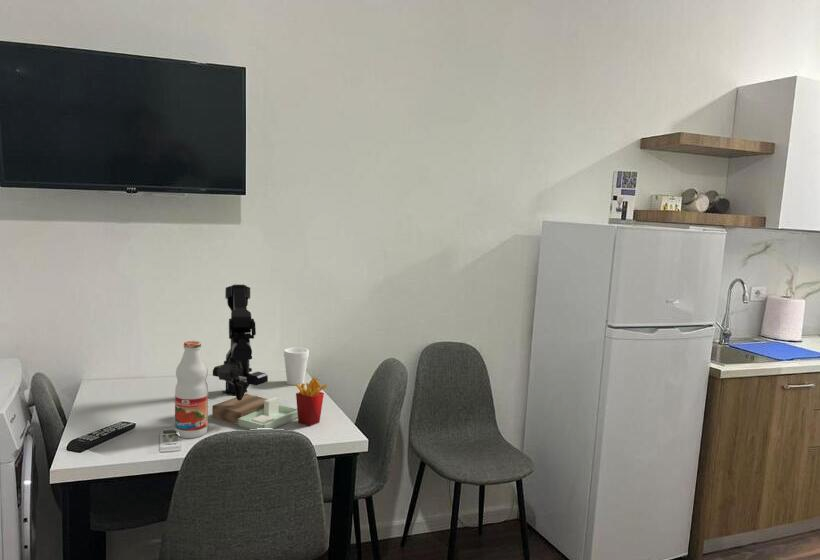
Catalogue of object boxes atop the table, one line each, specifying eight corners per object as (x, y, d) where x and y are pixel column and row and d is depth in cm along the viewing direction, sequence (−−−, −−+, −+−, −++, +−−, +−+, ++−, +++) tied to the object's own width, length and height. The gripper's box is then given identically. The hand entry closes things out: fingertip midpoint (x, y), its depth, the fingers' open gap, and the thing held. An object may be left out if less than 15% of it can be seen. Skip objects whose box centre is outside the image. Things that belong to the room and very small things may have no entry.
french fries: (293, 423, 214) (295, 377, 212) (310, 416, 221) (312, 372, 219) (315, 429, 209) (316, 383, 207) (331, 422, 216) (333, 377, 214)
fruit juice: (213, 429, 204) (214, 340, 201) (198, 440, 195) (199, 347, 191) (184, 426, 206) (185, 338, 202) (168, 436, 196) (169, 344, 193)
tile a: (264, 400, 217) (269, 401, 216) (274, 397, 221) (278, 398, 220) (263, 415, 218) (268, 416, 217) (273, 411, 222) (278, 412, 221)
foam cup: (305, 387, 254) (306, 353, 252) (281, 385, 254) (282, 352, 252) (309, 380, 263) (310, 348, 262) (286, 379, 263) (287, 347, 262)
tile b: (263, 422, 205) (263, 428, 206) (274, 418, 210) (274, 424, 210) (251, 418, 208) (251, 424, 208) (262, 414, 212) (262, 420, 212)
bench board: (212, 417, 215) (212, 405, 214) (245, 405, 229) (246, 393, 228) (240, 424, 209) (241, 412, 209) (273, 411, 224) (273, 400, 223)
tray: (237, 426, 208) (237, 418, 208) (276, 410, 225) (276, 403, 225) (264, 433, 203) (264, 425, 203) (301, 416, 220) (301, 409, 220)
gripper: (200, 353, 211) (199, 400, 213) (245, 363, 202) (244, 412, 204) (225, 347, 221) (224, 392, 223) (269, 356, 212) (268, 403, 214)
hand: (239, 400), depth 216 cm, fingers closed
